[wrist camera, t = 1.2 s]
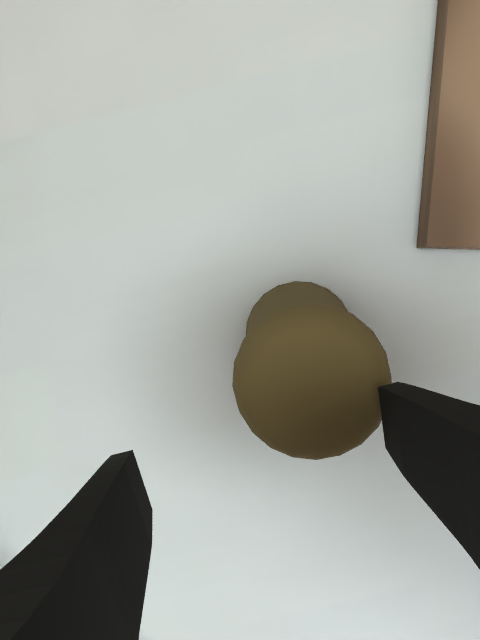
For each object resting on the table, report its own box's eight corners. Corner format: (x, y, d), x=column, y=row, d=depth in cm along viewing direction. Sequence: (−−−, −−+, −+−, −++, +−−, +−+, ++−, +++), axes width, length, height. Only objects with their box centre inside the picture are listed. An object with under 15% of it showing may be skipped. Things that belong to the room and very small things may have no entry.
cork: (241, 286, 23) (203, 301, 12) (350, 276, 22) (416, 283, 11) (250, 389, 23) (222, 494, 13) (356, 383, 23) (423, 488, 12)
